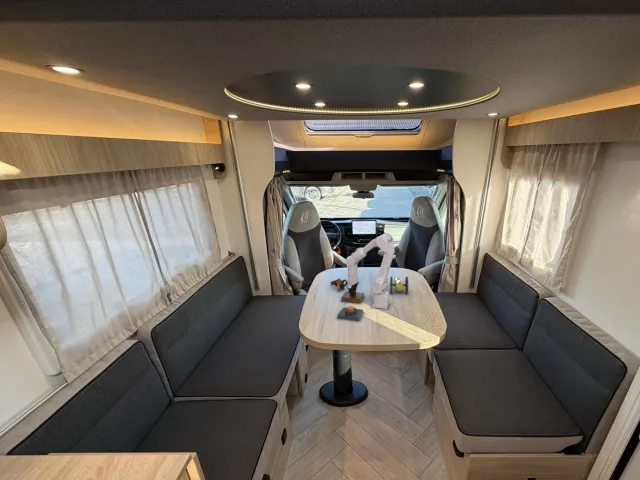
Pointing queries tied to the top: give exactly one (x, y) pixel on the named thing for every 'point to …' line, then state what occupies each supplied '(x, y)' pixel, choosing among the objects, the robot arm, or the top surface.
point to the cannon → (398, 284)
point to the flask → (350, 314)
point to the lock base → (352, 297)
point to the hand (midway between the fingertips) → (352, 294)
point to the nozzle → (350, 308)
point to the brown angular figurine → (340, 283)
